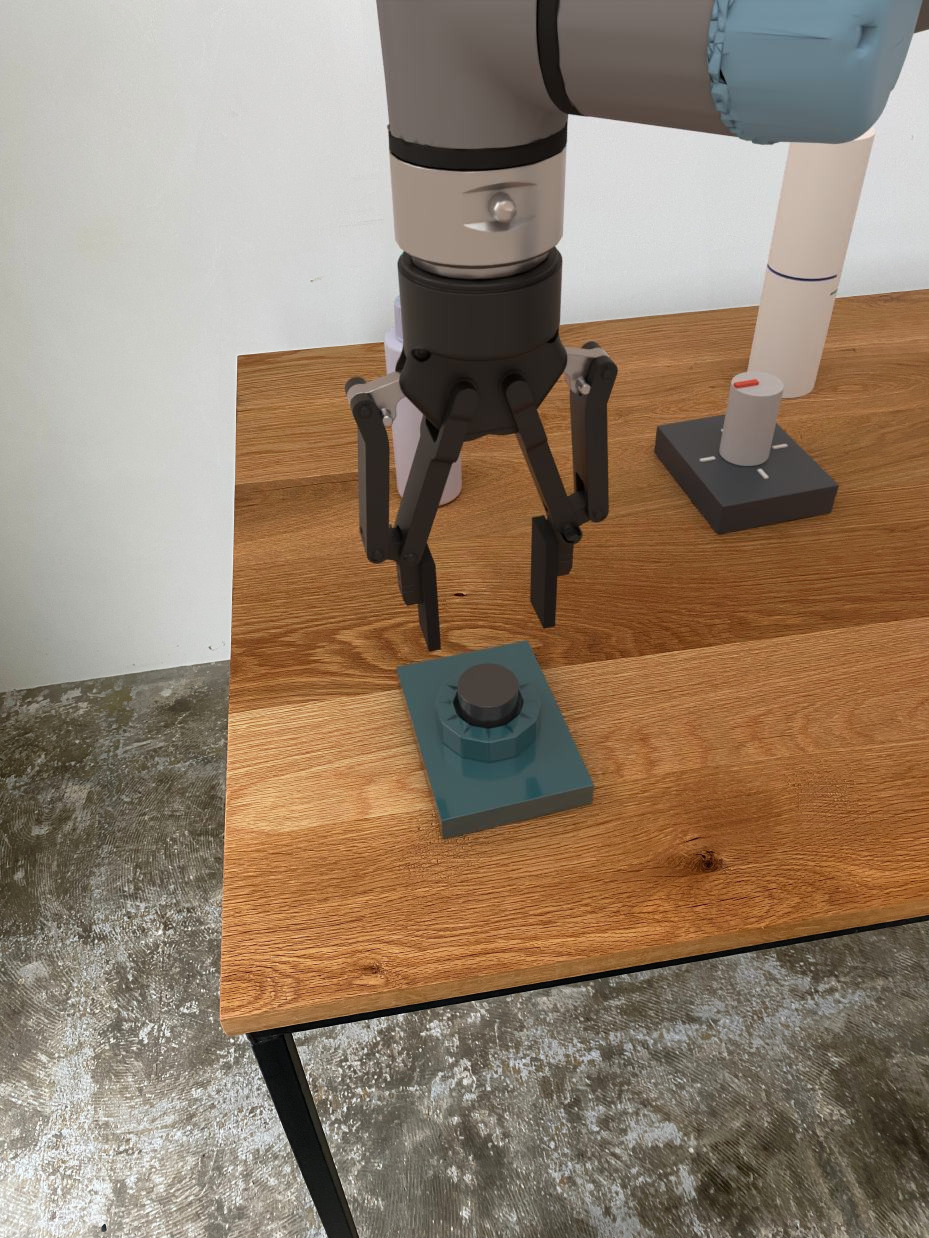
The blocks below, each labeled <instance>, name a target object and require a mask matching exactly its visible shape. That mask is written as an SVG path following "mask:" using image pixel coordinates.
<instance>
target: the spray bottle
mask: <svg viewBox="0 0 929 1238" xmlns="http://www.w3.org/2000/svg"><path fill="white" fill-rule="evenodd" d="M400 256H401V254H400V255H399V257H400ZM399 257H398V258H399ZM393 304H394V305H393V306H394V326H393V327H391V328H389V330H387V332H386V333H385V335H384V337H383V345H384V359H385V367H386V375H388V374H390V373H393V372H395V367H396V363H397V361H398V359H399V357H400V354H401V352H402V347H403V331H402V318H401V305H400V294H399V295H398V296H396V297H395V298H394V300H393ZM396 414H397V415H396V418H395V420H394V421H393V424H392V425H391V433H392V442H393V445H392V446H393V455H394V466H395V475H396V476H395V478H396V486H397V487H396V488H397V492H398V495H399V496H400V497H401V498H402V496H403V493H404V490H405V486H406V483H407V479H408V476H409V473H410V469H411V466H412V463H413V459H414V456H415V452H416V449H417V446H418V442H419V439H420V424H421V420H422V417H423V414H422V413H421V412H420V411H419V410H418V409H417V408H416V407H415V406H414V405H413V404H412V403H411V402H410V401H409V400H408V399H407V398H406V397H404V398H402V399H401V400H400V401H399V402H398V404H397V406H396ZM462 488H463V475H462V450H461V451H460V454H459V457H458V460H457V461H456V462H455V463H453V464H452V466H451V469H450V473H449V476H448V479H447V482H446V485H445V488H444V491H443V494H442V497H441V500H440V503H439V506H443V505H446V504H448V503H451V502H452V501H453V500H455V499H456V498H457V497H458V496H459V495H460V493H461V491H462Z"/></svg>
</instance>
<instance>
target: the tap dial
mask: <svg viewBox="0 0 929 1238" xmlns="http://www.w3.org/2000/svg"><path fill="white" fill-rule="evenodd" d="M783 389H784V384H783V382H782V381H781V380H780V379H779V378H777V377H775V376H773V375H771V374H768V373H763V372H747V371H745V372H741V373H738V374H736V375H735V376H733V378H732V379H731V382H730V387H729V392H728V399H727V404H726V410H725V414H726V415H725V420H724V426H723V432H722V437H721V443H720V449H719V452H720V455H721V456H722V458H724V459H725V460H726V461H728V462H730V463H733V464H736V465H740V466H755V465H759V464H762V463H764V462H765V461H766V460H767V459H768V457H769V453H770V448H771V444H772V439H773V435H774V430H775V425H776V423H777V420H778V416H779V411H780V407H781V402H782V399H783V398H782V393H783Z"/></svg>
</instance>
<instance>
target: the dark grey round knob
mask: <svg viewBox="0 0 929 1238" xmlns="http://www.w3.org/2000/svg"><path fill="white" fill-rule="evenodd" d="M457 689H458V708H459V712H460V714H461V716H462V717H463V718H464V720H466V721H467V722H468V723H470V724H472V725H474V726H477V727H482V728H495V727H499V726H502V725H504V724H506V723H508V722H509V721H511V720H512V719H513V718H514V716H515V715H516V713H517V711H518V680H517V678H516V676H515V675H514V673H513V672H512V671H511V670H509V669H508V668H506V667H504V666H501V665H498V664H492V663H484V664H478V665H475V666H472V667H470V668H469V669H467V670H466V671H464V672H463V673H462V675H461V676H460V678H459V680H458V684H457Z"/></svg>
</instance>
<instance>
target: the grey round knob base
mask: <svg viewBox="0 0 929 1238" xmlns="http://www.w3.org/2000/svg"><path fill="white" fill-rule="evenodd" d="M484 663H492V664H498V665H501V666H504V667H506V668H508V669H509V670H511V671H512V672H513V673H514V675H515V676H516V678H517V680H518V711H517V713H516V715H515V716H514V718H513V719H512V720H511V721H509V722H508V723H506V724H504V725H502V726H499V727H495V728H482V727H477V726H474V725H472V724H470V723H468V722H467V721H466V720H464V718H463V717H462V716H461V714H460V712H459V708H458V689H457V684H458V680H459V678H460V676H461V675H462V673H463V672H464V671H466V670H467V669H469V668H470V667H472V666H475V665H478V664H484ZM395 669H396V679H397V686H398V690H399V693H400V696H401V697H400V698H401V701H402V704H403V707H404V711H405V714H406V718H407V720H408V724H409V727H410V731H411V735H412V739H413V741H414V746H415V749H416V752H417V755H418V759H419V763H420V765H421V769H422V772H423V776H424V779H425V782H426V787H427V790H428V793H429V796H430V801H431V804H432V807H433V810H434V814H435V817H436V821H437V825H438V827H439V831H440V834H441V838H442V840H446V839H450V838H454V837H458V836H462V835H467V834H471V833H475V832H476V833H477V832H480V831H485V830H489V829H493V828H497V827H501V826H505V825H509V824H513V823H518V822H521V821H527V820H531V819H534V818H539V817H543V816H547V815H552V814H555V813H559V812H564V811H568V810H572V809H576V808H577V809H578V808H582V807H585V806H590V805H592V804H593V800H594V789H595V784H594V782H593V779H592V777H591V775H590V773H589V771H588V769H587V768H588V767H586V764H585V762H584V760H583V758H582V755H581V753H580V751H579V749H578V747H577V744H576V742H575V739H574V738H573V736H572V733H571V732H570V729H569V727H568V725H567V722H566V720H565V719H564V715H563V713H562V712H561V710H560V707H559V705H558V703H557V700H556V698H555V697H554V694H553V692H552V690H551V687H550V685H549V683H548V681H547V679H546V677H545V675H544V672H543V670H542V668H541V666H540V664H539V661H538V659H537V657H536V655H535V652H534V651H533V648H532V646H531V644H530V641H529V640H528V639H527V640H526V639H525V640H521V641H516V642H511V643H506V644H501V645H496V646H492V647H487V648H481V649H477V650H472V651H466V652H463V653H457V654H452V655H447V656H443V657H437V658H433V659H427V660H422V661H418V662H413V663H408V664H403V665H397V666H396V668H395Z"/></svg>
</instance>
